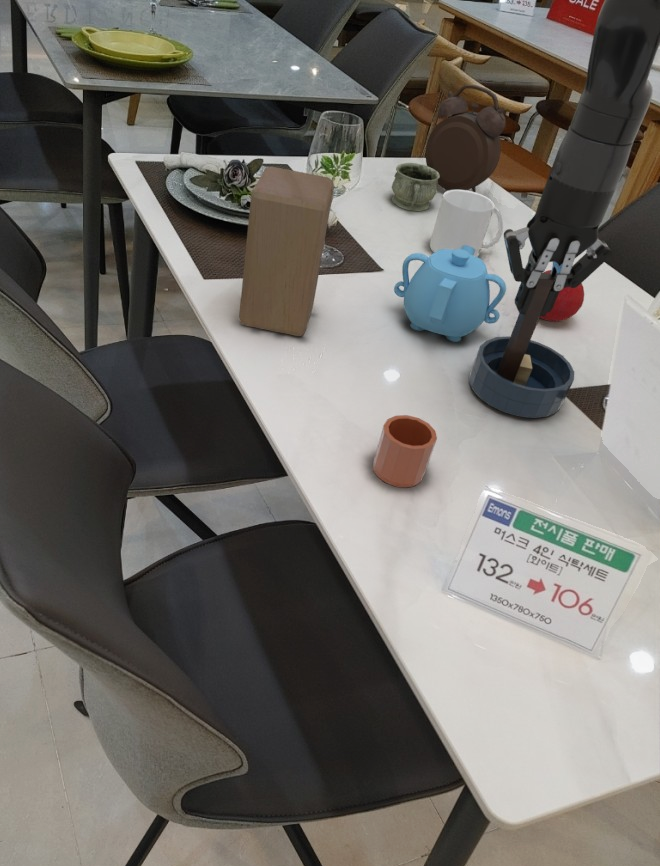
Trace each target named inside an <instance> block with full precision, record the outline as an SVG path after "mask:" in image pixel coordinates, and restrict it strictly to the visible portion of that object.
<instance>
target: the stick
mask: <svg viewBox="0 0 660 866" xmlns="http://www.w3.org/2000/svg"><path fill="white" fill-rule="evenodd" d="M553 283H554V279H553V278H552V276H551V274H550V273H544V272H542V273H541V275H540V277H539V279H538V281H537V283H536V285H535V286H534V287H535V289H536V290H535V292H534V295H533V297H532V300H531V302H530V305H529V307H528V310H527V312H526V314H520V313H519V312H518V315H517V318H516V321H515V324H514V327H513V329H512V332H511V334H510V339H509V342H508V345H507V347H506V350H505V352H504V355H503V358H502V360H501V363H500V366H499V368H498V371H497V374H498V375H500V376H501V377H503V378H505V379H507V380H509V381H511V382H514V380H515V377H516V375H517V372H518V370H519V367H520V365H521V362H522V360H523V357H524V355H525V352H526V350H527V347H528V345H529V342H530V340H532V337H533V335H534V333H535V330H536V327H537V324H538V322H539V321H540V320H539V319H540V315H541V312H542V310H543V307H544V305H545V302H546V300H547V297H548V295H549V292H550V290H551V288H552V285H553Z"/></svg>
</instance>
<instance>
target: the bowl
mask: <svg viewBox="0 0 660 866" xmlns="http://www.w3.org/2000/svg"><path fill="white" fill-rule="evenodd" d="M510 337H511V335H509V336H498V337H493V338H490V339H487V340H485V341H484V342H483V343H482V344H481V345H480V346H479V348H478V351H477V354H476V356H475V359H474V362H473V365H472V367H471V370H470V372H469V373H470V374H469V378H468V381H469V385H470V388H471V389H472V391H473V392H474V393H475V394H476V395H475V396H477V398H480V399H481V400H482V401H483V402H485V404H487V405H488V406H490V407H492V408H494V409H497V410H498V411H500V412H502V413H506V414H509V415H512V416H517V417H520V418H530V419H537V418H544V417H549V416H551V415H553V414H556V413H557V412H558V411H559V410H560V409H561V408H562V407H563V404H564V402H565V400H566V398H567V396H568V395H569V394H568V393H569V392H570V390H571V387H572V385H573V383H574V381H575V370H574V368H573V366H572V364H571V363H570V361H569V360H568V359H567V358H565V356H564V355H563V354H561V353H559V352H558V351H556V350H555V349H554V348H552V347H550V346H548V345H546V344H543V343H542V342H539V341H536V340H533V339H531V340H530V342H529V345H528V347H527V350H526V352H525V354H526V355H530V358H531V363H532V371H531V373H530V376H529V378H528V380H527V383H526V385H525V386H523V385H519V384H516V383H514V382H511V381H509V380H507V379H505V378H503V377H501V376H500V375H498V374H497V370H498V368H499V365H500V362H501V360H502V357H503V354H504V352H505V350H506V347H507V345H508V342H509V339H510Z"/></svg>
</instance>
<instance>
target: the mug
mask: <svg viewBox="0 0 660 866" xmlns="http://www.w3.org/2000/svg"><path fill="white" fill-rule="evenodd" d="M493 213H494V214H495V215H496V217H497V221H498V227H497V228H498V229H497V233H496V235H495V237H494V238H492V239H490V241H489V240H488V241H487V242H484V240H485V237H486V234H487V231H488V228H489V225H490V222H491V219H492V215H493ZM503 230H504V221H503V216H502V214H501V211H500V209H498V207H496V206H495V202H494V201H493V200H492V199H490V198H489V197H488V196H485V195H484V194H481V193H479V192H477V191H476V192H473V191H472V190H449V191H448V190H446V191H444V193H443V195H442V198H441V202H440V205H439V209H438V213H437V217H436V220H435V223H434V228H433V231H432V234H431V238H430V241H429V247H430V250H431V252H432V253H434V252H436V251H438V250H441V249H451V250H454V249H461V247H462V246H463V245H467V246H470V247H473V248H474V249H475V253H474V255H473V256H476V257H478V258H479V255H480V252H481V249H489V248H491V247H493V246H495V245H496V244H497V243H499V242H500V240H501V238H502V235H503V233H504V232H503Z"/></svg>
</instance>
